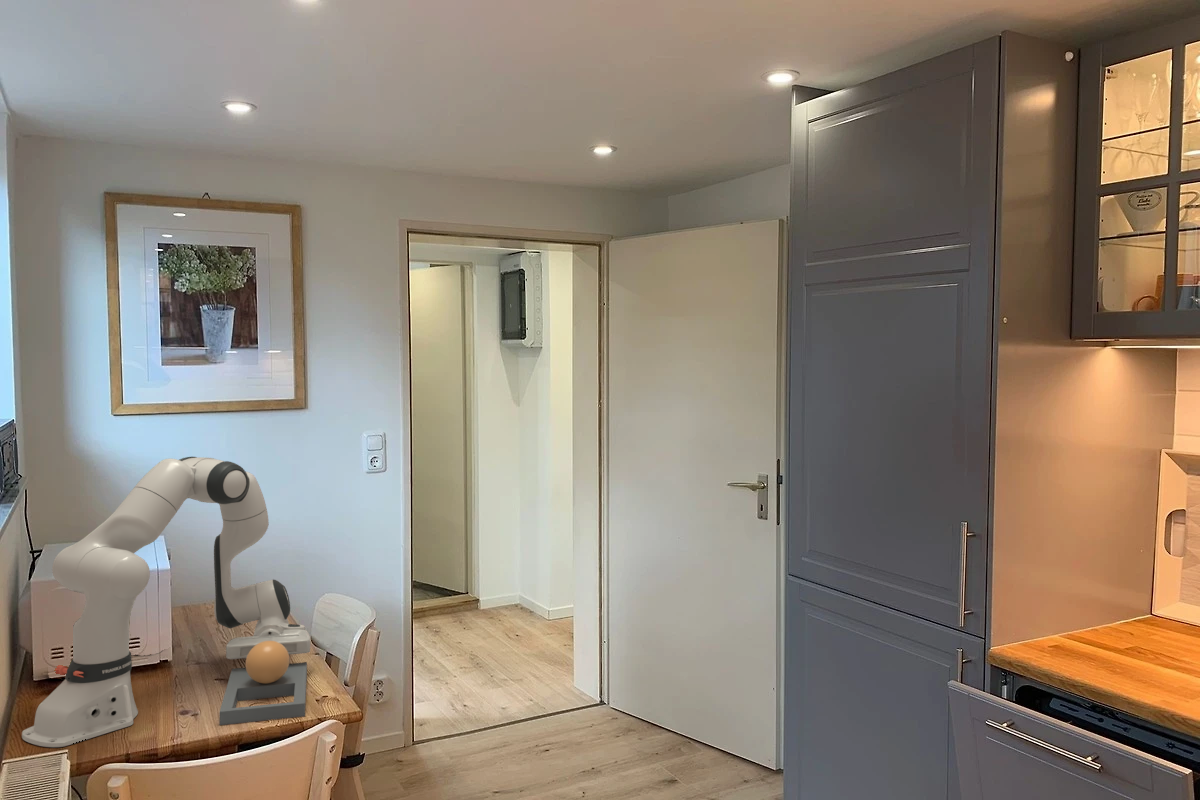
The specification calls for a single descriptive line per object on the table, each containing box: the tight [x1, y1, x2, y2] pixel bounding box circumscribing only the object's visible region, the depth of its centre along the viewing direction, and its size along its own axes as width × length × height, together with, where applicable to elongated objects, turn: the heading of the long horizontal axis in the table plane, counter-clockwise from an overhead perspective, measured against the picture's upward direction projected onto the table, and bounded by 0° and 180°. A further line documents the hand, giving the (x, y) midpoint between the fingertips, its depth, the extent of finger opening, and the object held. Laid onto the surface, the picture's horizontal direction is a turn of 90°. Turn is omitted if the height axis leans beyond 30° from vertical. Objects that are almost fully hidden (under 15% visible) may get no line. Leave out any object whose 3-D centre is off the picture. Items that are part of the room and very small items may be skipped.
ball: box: [245, 641, 290, 684], centre depth 213 cm, size 10×10×10 cm
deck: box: [218, 661, 308, 726], centre depth 211 cm, size 29×18×3 cm, turn 18°
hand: (267, 655), depth 218 cm, fingers closed
